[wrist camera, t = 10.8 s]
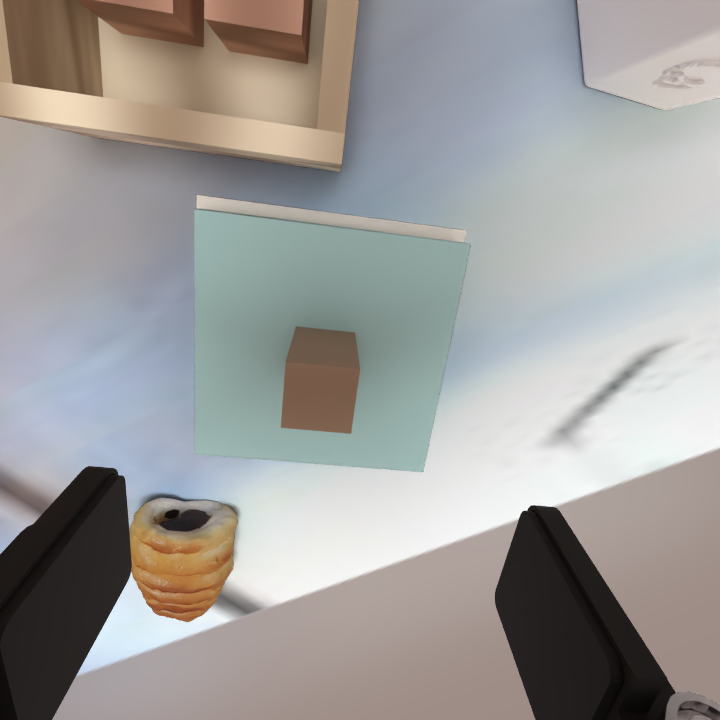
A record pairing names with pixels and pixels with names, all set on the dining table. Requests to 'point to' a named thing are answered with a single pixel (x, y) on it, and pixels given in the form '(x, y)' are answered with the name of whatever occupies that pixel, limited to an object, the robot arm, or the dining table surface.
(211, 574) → the pastry
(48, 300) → the dining table surface
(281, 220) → the lid
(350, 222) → the mat
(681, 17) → the jar
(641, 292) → the dining table surface
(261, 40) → the box
